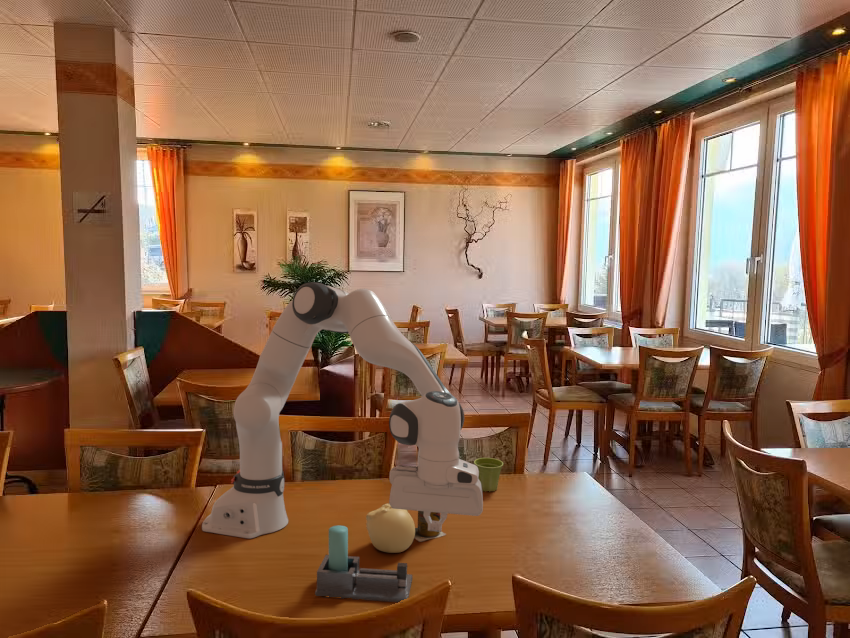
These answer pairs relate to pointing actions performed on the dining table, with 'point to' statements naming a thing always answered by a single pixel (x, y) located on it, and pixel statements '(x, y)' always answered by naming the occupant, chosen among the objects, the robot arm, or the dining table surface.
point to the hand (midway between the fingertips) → (434, 530)
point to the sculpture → (390, 529)
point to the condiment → (426, 527)
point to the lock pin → (400, 574)
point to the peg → (338, 548)
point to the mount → (360, 583)
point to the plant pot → (489, 472)
